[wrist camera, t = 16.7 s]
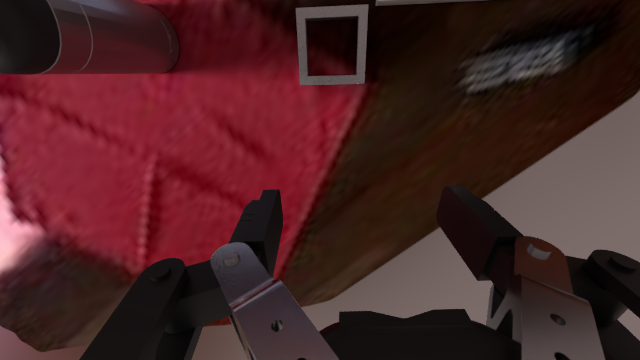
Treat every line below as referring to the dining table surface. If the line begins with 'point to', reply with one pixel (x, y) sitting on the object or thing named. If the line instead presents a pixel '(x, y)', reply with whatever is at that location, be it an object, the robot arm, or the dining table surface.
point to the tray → (415, 2)
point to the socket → (332, 14)
